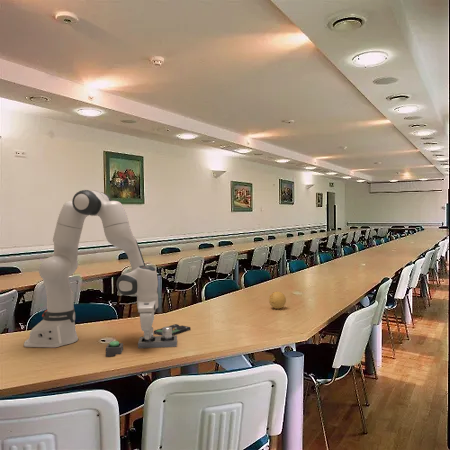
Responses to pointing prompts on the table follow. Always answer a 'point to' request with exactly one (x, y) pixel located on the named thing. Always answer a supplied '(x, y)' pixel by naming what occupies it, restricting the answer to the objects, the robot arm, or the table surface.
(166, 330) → the billet
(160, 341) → the block
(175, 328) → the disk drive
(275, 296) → the stress ball
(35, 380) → the table surface
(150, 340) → the billet
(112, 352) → the button housing
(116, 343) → the button
